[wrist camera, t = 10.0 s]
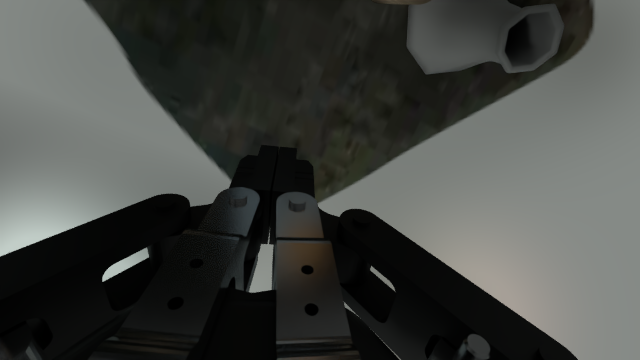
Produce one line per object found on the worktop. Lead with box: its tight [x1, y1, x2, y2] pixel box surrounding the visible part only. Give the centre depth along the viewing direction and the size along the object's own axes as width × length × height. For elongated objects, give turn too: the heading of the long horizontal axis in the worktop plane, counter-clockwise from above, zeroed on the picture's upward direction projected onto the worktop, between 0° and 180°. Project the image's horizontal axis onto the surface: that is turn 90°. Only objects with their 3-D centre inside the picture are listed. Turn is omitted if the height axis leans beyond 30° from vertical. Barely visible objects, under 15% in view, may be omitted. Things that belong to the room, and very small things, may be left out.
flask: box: [407, 0, 564, 74], centre depth 20 cm, size 7×7×10 cm
